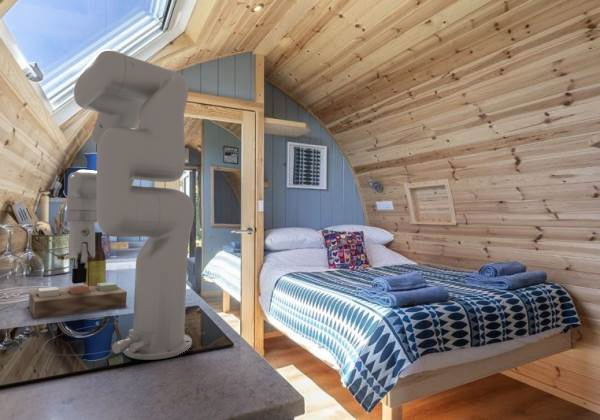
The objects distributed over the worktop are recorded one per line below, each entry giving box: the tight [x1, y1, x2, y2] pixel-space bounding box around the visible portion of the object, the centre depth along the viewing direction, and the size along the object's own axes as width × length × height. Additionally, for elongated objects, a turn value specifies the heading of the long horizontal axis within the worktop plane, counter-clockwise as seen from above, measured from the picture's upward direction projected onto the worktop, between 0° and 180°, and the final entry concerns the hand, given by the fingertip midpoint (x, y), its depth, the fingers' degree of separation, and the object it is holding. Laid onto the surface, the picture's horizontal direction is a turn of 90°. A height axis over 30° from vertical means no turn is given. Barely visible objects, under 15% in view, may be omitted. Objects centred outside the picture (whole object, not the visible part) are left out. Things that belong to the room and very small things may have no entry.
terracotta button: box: [68, 283, 89, 294], centre depth 100 cm, size 4×4×3 cm
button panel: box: [28, 285, 128, 319], centre depth 100 cm, size 21×14×4 cm, turn 131°
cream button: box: [37, 286, 60, 298], centre depth 96 cm, size 4×4×3 cm
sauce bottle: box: [83, 231, 107, 286], centre depth 117 cm, size 6×6×20 cm
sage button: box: [97, 281, 118, 291], centre depth 105 cm, size 4×4×3 cm
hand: (79, 282), depth 100 cm, fingers closed
